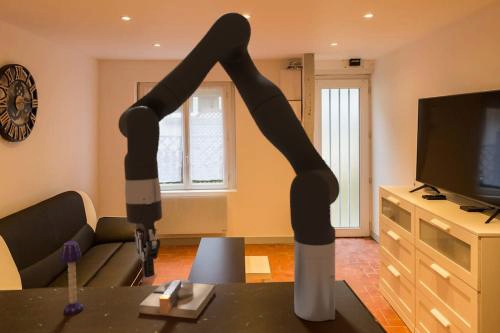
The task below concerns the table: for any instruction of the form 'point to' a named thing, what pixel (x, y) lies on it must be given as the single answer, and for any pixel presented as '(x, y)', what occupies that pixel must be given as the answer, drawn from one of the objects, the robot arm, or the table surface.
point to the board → (180, 301)
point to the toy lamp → (71, 275)
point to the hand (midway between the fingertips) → (148, 275)
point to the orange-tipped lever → (174, 294)
